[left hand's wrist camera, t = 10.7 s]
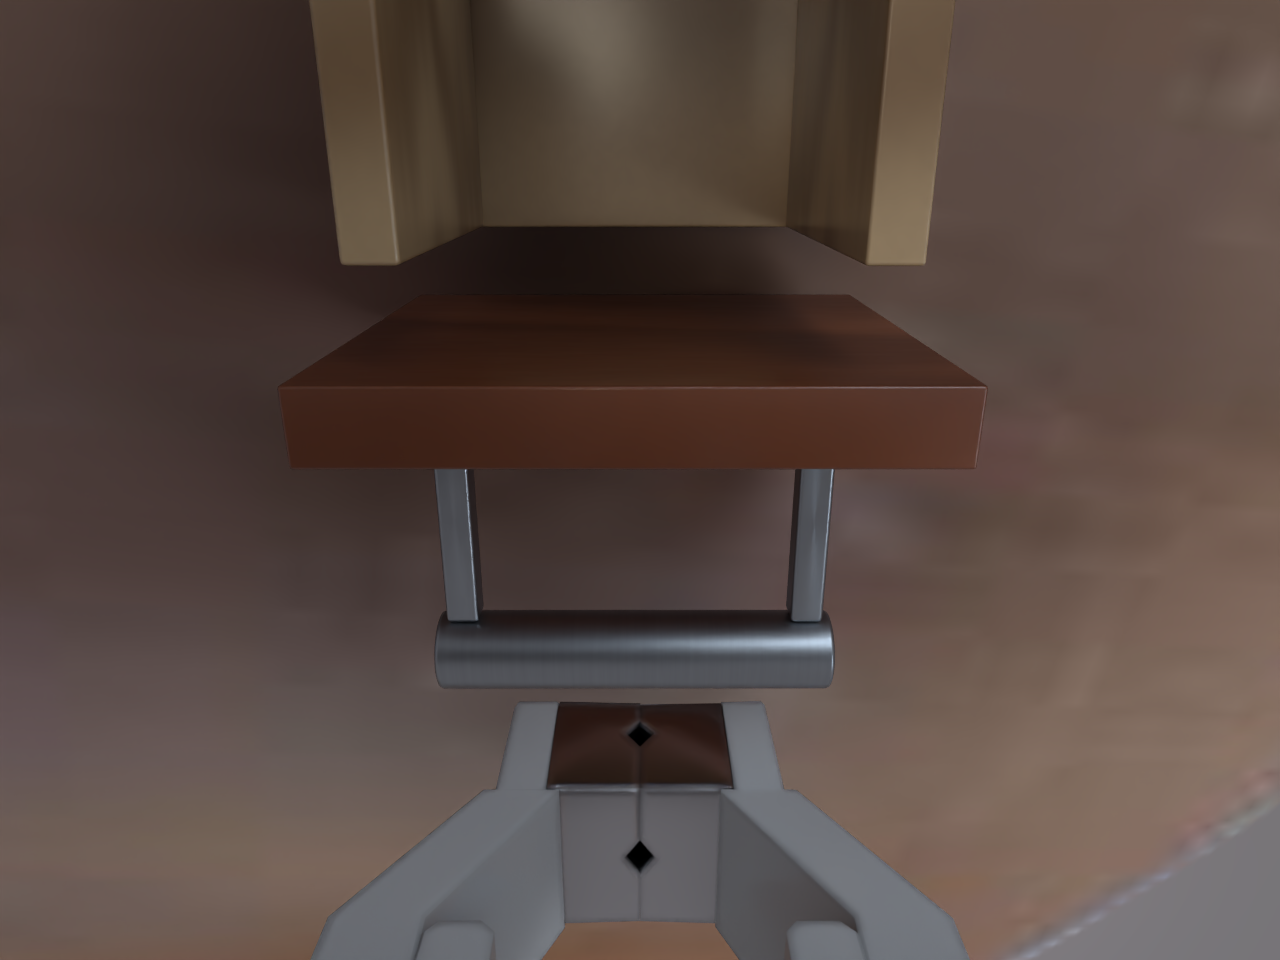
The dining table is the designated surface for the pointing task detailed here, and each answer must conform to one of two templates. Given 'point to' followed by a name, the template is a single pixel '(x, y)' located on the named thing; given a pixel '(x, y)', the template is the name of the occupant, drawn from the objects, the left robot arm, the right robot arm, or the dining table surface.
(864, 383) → the drawer
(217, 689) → the dining table surface
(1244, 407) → the dining table surface
